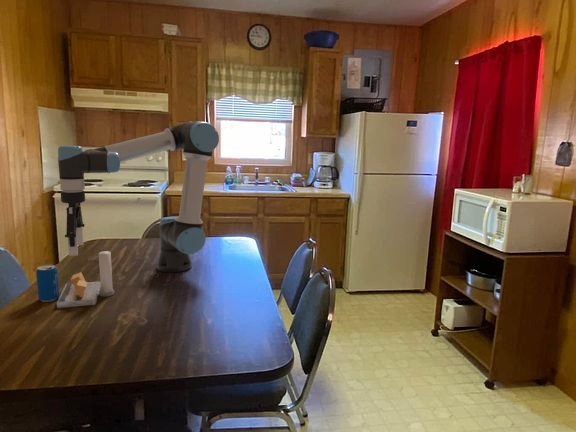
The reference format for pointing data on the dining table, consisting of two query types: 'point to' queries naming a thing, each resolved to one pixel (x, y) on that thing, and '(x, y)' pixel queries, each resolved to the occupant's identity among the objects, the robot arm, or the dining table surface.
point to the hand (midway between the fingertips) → (76, 249)
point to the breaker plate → (87, 299)
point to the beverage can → (47, 283)
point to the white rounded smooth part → (105, 274)
